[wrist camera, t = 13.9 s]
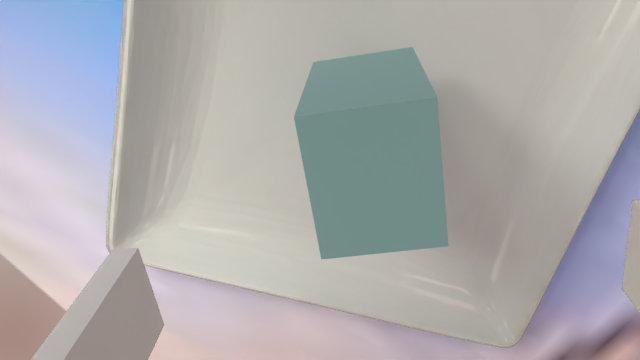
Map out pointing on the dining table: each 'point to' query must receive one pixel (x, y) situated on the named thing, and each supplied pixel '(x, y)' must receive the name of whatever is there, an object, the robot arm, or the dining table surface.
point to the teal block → (372, 155)
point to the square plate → (287, 167)
